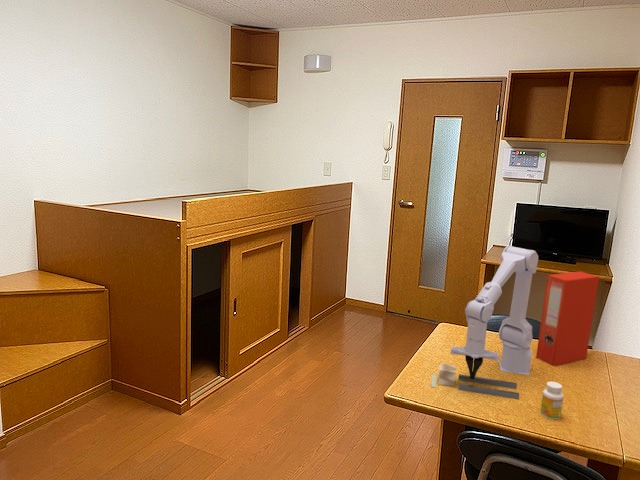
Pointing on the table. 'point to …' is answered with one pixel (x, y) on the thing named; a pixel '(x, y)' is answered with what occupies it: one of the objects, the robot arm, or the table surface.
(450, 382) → the block
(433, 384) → the pad
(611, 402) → the table surface
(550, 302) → the file binder
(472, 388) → the parallel grey rails
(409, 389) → the table surface
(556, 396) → the supplement bottle
